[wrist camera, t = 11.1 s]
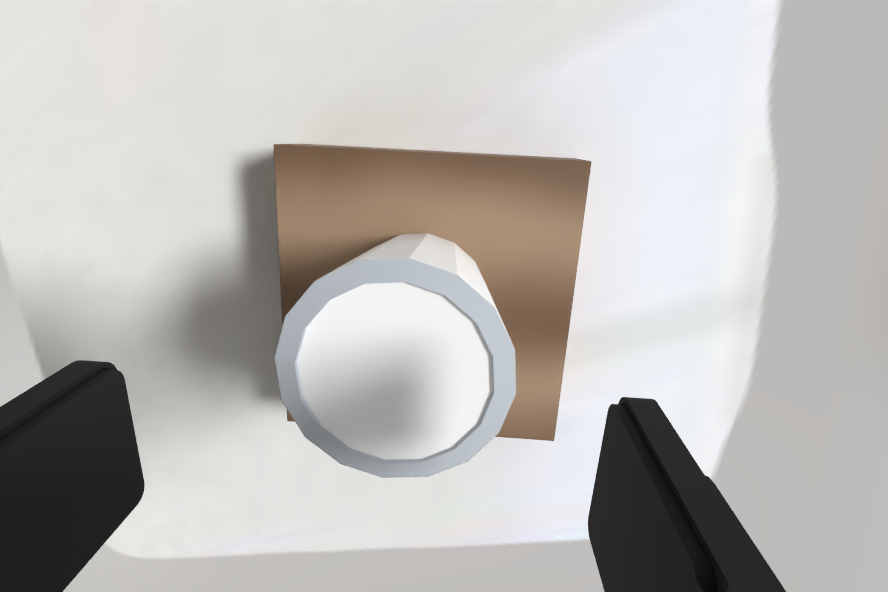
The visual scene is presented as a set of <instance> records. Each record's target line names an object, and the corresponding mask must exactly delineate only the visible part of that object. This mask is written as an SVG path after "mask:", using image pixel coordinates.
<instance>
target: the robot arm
mask: <svg viewBox="0 0 888 592" xmlns="http://www.w3.org/2000/svg"><path fill="white" fill-rule="evenodd" d="M143 492H144V479H143V474H142V468H141V463H140V458H139V452H138V447H137V442H136V437H135V431H134V426H133V421H132V416H131V410H130V405H129V400H128V395H127V389H126V384H125V379H124V376H123V374H122V373H121V372H120V371H118V370H117V369H116V367H115V366H114V365H113V364H111V363H109V362H97V361H75V362H73V363H71V364H69V365H68V366H66V367H64V368H63V369H61V370H59V371H58V372H56V373H55V374H53V375H51V376H50V377H48V378H46V379H45V380H43V381H42V382H40V383H38V384H37V385H35V386H34V387H32V388H30V389H29V390H27V391H26V392H24V393H22V394H21V395H19V396H17V397H16V398H14V399H12V400H11V401H9V402H8V403H6V404H4V405H3V406H1V407H0V592H63V590H64V589H65V588H66V587H67V586H68V585H69V584H70V582H71V581H72V580H73V579H74V578H75V577H76V575H77V574H78V573H79V572H80V571H81V570H82V568H83V567H84V566H85V565H86V563H88V561H89V560H90V559H91V558H92V557H93V556H94V554H95V553H96V552H97V551H98V550H99V549H100V547H101V546H102V545H103V544H104V543H105V542H106V540H107V539H108V538H109V537H110V536H111V535H112V534H113V532H114V531H115V530H116V529H117V528H118V527H119V525H120V524H121V523H122V522H123V521H124V520H125V518H126V517H127V516H128V515H129V514H130V513H131V511H132V510H133V509H134V508H135V507H136V506H137V504H138V503H139V502H140V500H141V498H142V495H143ZM588 531H589V537H590V541H591V545H592V548H593V552H594V556H595V559H596V562H597V566H598V570H599V573H600V577H601V580H602V584H603V588H604V591H605V592H786V591H785V589H784V588H783V586H782V585H781V583H780V582H779V580H778V579H777V577H776V576H775V574H774V573H773V571H772V570H771V568H770V567H769V565H768V564H767V562H766V561H765V559H764V558H763V556H762V555H761V553H760V552H759V550H758V549H757V547H756V546H755V544H754V543H753V541H752V540H751V538H750V537H749V535H748V534H747V532H746V531H745V529H744V528H743V526H742V525H741V523H740V522H739V520H738V519H737V517H736V516H735V514H734V512H733V511H732V510H731V508H730V506H729V505H728V503H727V502H726V501H725V499H724V497H723V496H722V495H721V493H720V491H719V490H718V488H717V487H716V485H715V484H714V483H713V482H712V480H711V479H710V478H709V477H707V476H705V475H704V474H703V472H702V471H701V469H700V468H699V466H698V465H697V463H696V462H695V460H694V459H693V457H692V455H691V454H690V452H689V451H688V449H687V448H686V446H685V445H684V443H683V442H682V440H681V439H680V437H679V435H678V434H677V432H676V431H675V429H674V428H673V426H672V425H671V423H670V422H669V420H668V419H667V417H666V416H665V414H664V412H663V411H662V409H661V408H660V406H659V405H658V403H657V402H656V401H655V400H654V399H643V398H628V397H622V398H621V399H620V401H619V403H618V405H617V404H611V405H610V407H609V409H608V414H607V419H606V425H605V430H604V435H603V441H602V446H601V452H600V457H599V463H598V468H597V474H596V479H595V484H594V490H593V495H592V501H591V506H590V512H589V518H588Z"/></svg>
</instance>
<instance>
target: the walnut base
mask: <svg viewBox="0 0 888 592" xmlns="http://www.w3.org/2000/svg"><path fill="white" fill-rule="evenodd" d="M274 162H275V182H276V202H277V222H278V242H279V262H280V282H281V302H282V322H283V323H284V320H285V316H286V315H287V314H288V312H289V311H290V310H291V309H292V308H293V306H294V305H295V304H296V303H297V302H298V300H299V299H300V298H301V297H302V296H303V294H304V293H305V292H306V291H307V290H308V288H309V287H310V286H311V285H312V284H313V283H314V281H316V280H318V279H319V278H321V277H323V276H325V275H326V274H328V273H330V272H332V271H333V270H335V269H337V268H339V267H340V266H342V265H344V264H346V263H347V262H349V261H351V260H353V259H355V258H356V257H358V256H360V255H362V254H363V253H365V252H367V251H369V250H370V249H372V248H374V247H376V246H378V245H380V244H382V243H384V242H386V241H388V240H390V239H392V238H394V237H396V236H398V235H402V234H422V233H429V234H432V235H434V236H437V237H440V238H443V239H446V240H449V241H451V242H454V243H455V244H456V245H458V246H459V247H460V248H461V249H462V250H463V251H464V252H465V253H467V254H468V255H469V256H470V257H471V258H472V259H473V260H474V261H475V262H476V265H477V267H478V269H479V271H480V273H481V275H482V277H483V279H484V281H485V283H486V286H487V288H488V290H489V292H490V294H491V297H492V299H493V301H494V303H495V306H496V308H497V310H498V312H499V315H500V317H501V319H502V321H503V324H504V326H505V328H506V330H507V333H508V335H509V337H510V339H511V342H512V344H513V346H514V348H515V363H516V395H515V398H514V400H513V402H512V404H511V407H510V409H509V411H508V413H507V416H506V418H505V420H504V422H503V425H502V427H501V429H500V431H499V433H498V434H497V435H496V436H495V437H509V438H522V439H535V440H549V441H554V437H555V429H556V422H557V414H558V407H559V399H560V392H561V384H562V377H563V369H564V362H565V354H566V347H567V339H568V332H569V324H570V317H571V309H572V302H573V294H574V287H575V280H576V272H577V265H578V257H579V250H580V242H581V235H582V227H583V220H584V212H585V205H586V197H587V190H588V182H589V175H590V167H591V161H586V160H581V159H574V158H555V157H537V156H518V155H499V154H481V153H462V152H443V151H425V150H406V149H387V148H368V147H350V146H331V145H312V144H274ZM287 421H295V420H294V419H293V417H292V416H291V414H290V412H289V411H288V409H287Z"/></svg>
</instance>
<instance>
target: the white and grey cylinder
mask: <svg viewBox="0 0 888 592" xmlns="http://www.w3.org/2000/svg"><path fill="white" fill-rule="evenodd" d="M274 359H275V364H276V370H277V376H278V381H279V387H280V393H281V399H282V401H283V403H284V405H285V406H286V408H287V409H288V411H289V412H290V414H291V416H292V417H293V419H294V420H295V422H296V423H297V425H298V427H299V428H300V430H301V431H302V433H303V434H304V436H305V437H306V438H307V439H308V440H310V441H311V442H312V443H314V444H315V445H316V446H318V447H319V448H320V449H322V450H323V451H324V452H325V453H327V454H328V455H329V456H331V457H332V458H333V459H335V460H336V461H337V462H339V463H340V464H342V465H345V466H349V467H352V468H355V469H358V470H361V471H364V472H367V473H370V474H373V475H376V476H379V477H382V478H391V477H428V476H431V475H433V474H436V473H439V472H441V471H444V470H447V469H449V468H452V467H454V466H457V465H460V464H462V463H465V462H468V461H469V460H470V459H471V458H472V457H473V456H474V455H475V454H476V453H477V452H479V451H480V450H481V449H482V448H483V447H484V446H485V445H486V444H487V443H488V442H489V441H491V440H492V439H493V438H494V437H495V436H496V435H497V434H498V433H499V431H500V429H501V427H502V425H503V422H504V420H505V418H506V416H507V413H508V411H509V409H510V407H511V404H512V402H513V400H514V398H515V395H516V363H515V348H514V346H513V344H512V342H511V339H510V337H509V335H508V333H507V330H506V328H505V326H504V324H503V321H502V319H501V317H500V315H499V312H498V310H497V308H496V306H495V303H494V301H493V299H492V297H491V294H490V292H489V290H488V288H487V286H486V283H485V281H484V279H483V277H482V275H481V273H480V271H479V269H478V267H477V265H476V262H475V261H474V260H473V259H472V258H471V257H470V256H469V255H468V254H467V253H465V252H464V251H463V250H462V249H461V248H460V247H459V246H458V245H456V244H455V243H454V242H451V241H449V240H446V239H443V238H440V237H437V236H434V235H432V234H429V233H422V234H402V235H398V236H396V237H394V238H392V239H390V240H388V241H386V242H384V243H382V244H380V245H378V246H376V247H374V248H372V249H370V250H369V251H367V252H365V253H363V254H362V255H360V256H358V257H356V258H355V259H353V260H351V261H349V262H347V263H346V264H344V265H342V266H340V267H339V268H337V269H335V270H333V271H332V272H330V273H328V274H326V275H325V276H323V277H321V278H319V279H318V280H316V281H314V283H313V284H312V285H311V286H310V287H309V288H308V290H307V291H306V292H305V293H304V294H303V296H302V297H301V298H300V299H299V300H298V302H297V303H296V304H295V305H294V306H293V308H292V309H291V310H290V311H289V312H288V314H287V315H286V316H285V320H284V323H283V327H282V331H281V335H280V339H279V342H278V346H277V350H276V354H275V358H274Z"/></svg>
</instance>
